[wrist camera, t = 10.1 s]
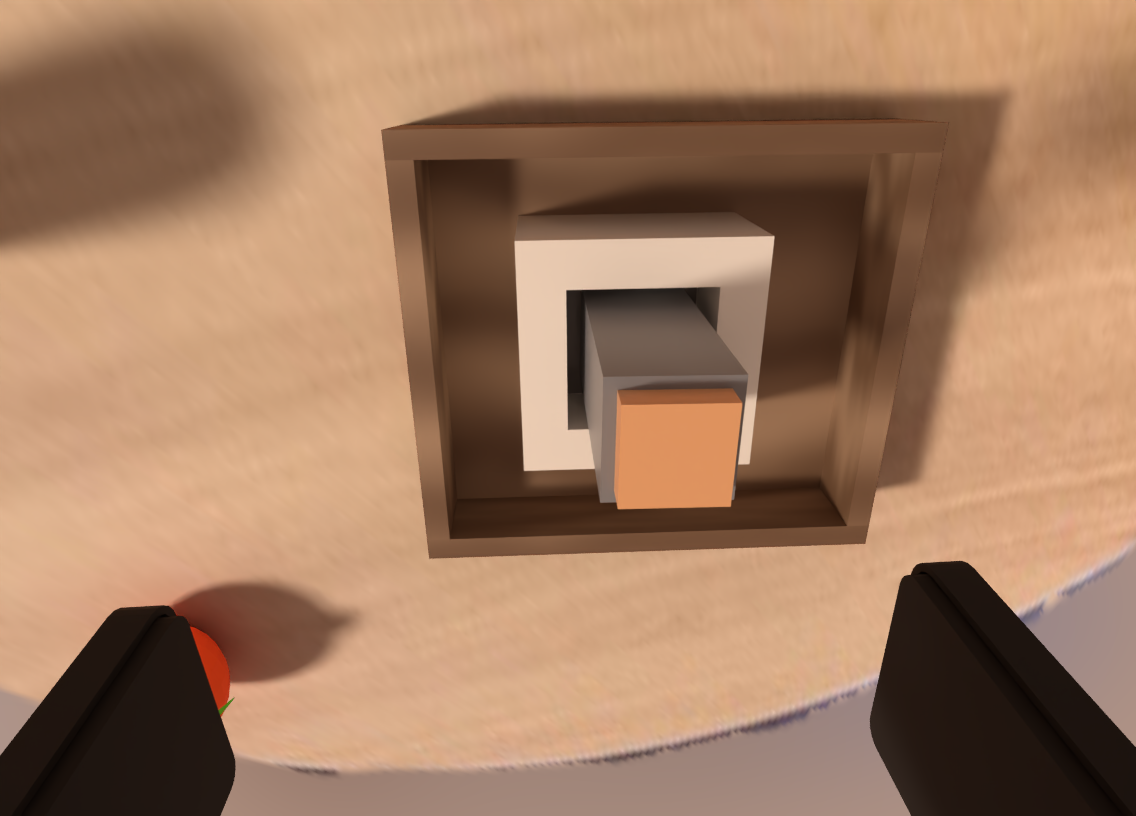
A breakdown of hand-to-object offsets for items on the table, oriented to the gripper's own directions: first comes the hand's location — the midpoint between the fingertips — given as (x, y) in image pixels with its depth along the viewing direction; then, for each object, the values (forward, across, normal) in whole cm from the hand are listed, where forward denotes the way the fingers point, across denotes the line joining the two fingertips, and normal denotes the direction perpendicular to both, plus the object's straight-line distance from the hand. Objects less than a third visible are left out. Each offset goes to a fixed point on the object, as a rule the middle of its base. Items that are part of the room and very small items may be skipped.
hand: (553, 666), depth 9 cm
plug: (+20, -4, +3) cm, 21 cm away
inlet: (+23, -4, +3) cm, 23 cm away
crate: (+23, -5, +4) cm, 24 cm away
